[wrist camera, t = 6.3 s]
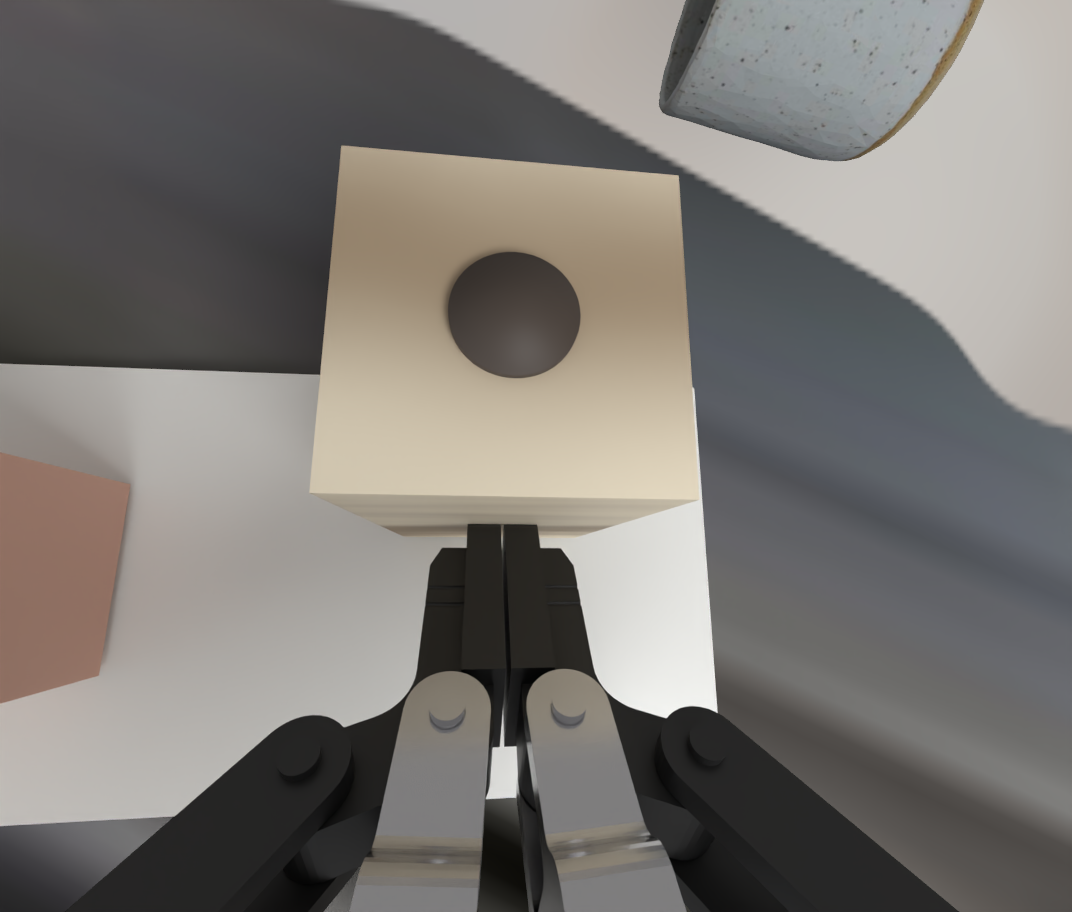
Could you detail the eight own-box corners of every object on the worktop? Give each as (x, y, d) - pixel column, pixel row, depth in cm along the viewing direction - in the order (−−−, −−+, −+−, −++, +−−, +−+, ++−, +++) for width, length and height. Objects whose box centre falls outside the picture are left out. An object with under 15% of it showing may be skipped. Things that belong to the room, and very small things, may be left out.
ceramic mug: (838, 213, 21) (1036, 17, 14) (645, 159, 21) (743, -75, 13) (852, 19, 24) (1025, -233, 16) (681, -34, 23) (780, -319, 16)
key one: (574, 538, 16) (704, 498, 7) (403, 536, 15) (305, 490, 6) (571, 380, 17) (682, 168, 8) (412, 373, 16) (338, 137, 7)
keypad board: (680, 399, 19) (694, 388, 18) (704, 770, 16) (722, 786, 15) (-153, 372, 16) (-203, 356, 15) (-282, 821, 13) (-354, 845, 12)
